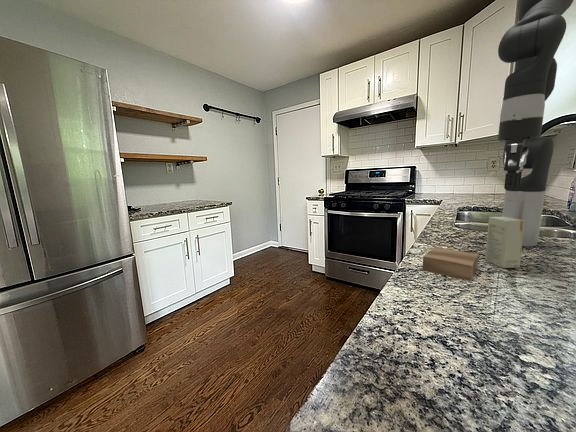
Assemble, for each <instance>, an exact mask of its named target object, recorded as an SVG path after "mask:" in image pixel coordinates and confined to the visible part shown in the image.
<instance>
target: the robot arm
mask: <svg viewBox="0 0 576 432" xmlns="http://www.w3.org/2000/svg"><path fill="white" fill-rule="evenodd" d="M573 2H574V0H519V4H518V5H519V6H518V16H517V17H518V20H517V23H515V24H514V25H512V26H511V27H509V28H508V29H507V31H506V32H505V33H504V34H503V36H502V38H501V39H500V42H499V45H498V49H497V54H498V57H499V60H500V61H502V62H503V63H506V64H512V63H514V70H513V72H512V73H510V74H509V75H508V76H507V77H506V78H505V82H504V88H503V89H504V90H503V98H502V99H503V101H502V105H501V109H500V113H499V114H500V115H499V126H498V136H497V140H498V141H499V142H504V147H503V153H502V163H503V170H504V171H503V172H504V173H505V177H504V178H505V179H504V186H503V187H504V190H505V191H504V200H503V206H502V207H503V209H502V215H501V217H508V218H514V219H519V220H525V223H524V233H523V242H522V247H536V246H538V241H539V236H540V229H541V222H542V216H543V208H544V202H545V194H546V187H547V182H548V178H549V171H550V167H551V163H552V158H553V154H554V146H555V145H554V140H553V139H552V138H551V137H548V136H542V128H543V121H544V114H545V106H546V101H547V100H548V98H549V97H550V96H551V95H552V93H553V91H554V88H555V86H556V85H555V83H556V78H557V73H558V72H557V71H558V62H557V60H556V58H555V55H556V53H557V51H558V49H559V46H560V45H561V43H562V41H563V39H564V36H565V34H566V31H567V22H566V18H565V17H564V16H562V15H564V13H565V12H566V11H567V10H569V8H570V7H571V5H572V4H573ZM526 169H527V170H531V169H532V170H531V172H530V173H529V174H527V175H526V176H523V177H522V173H523V171H524V170H526Z"/></svg>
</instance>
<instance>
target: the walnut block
mask: <svg viewBox="0 0 576 432" xmlns="http://www.w3.org/2000/svg"><path fill="white" fill-rule="evenodd" d="M479 256H480V254H479V253H473V252H469V251H468V252H467V251H462V250H455V249H450V248H449V249H448V248H443V247H436V246H434V247H433V248H431V249H430V250H429V251H428V252H427V253H425V254H424V255H423V256H422V271H425V272H428V273H429V272H430V273H434V274H438V275H442V276H448V277H451V278H454V279H455V278H456V279H460V280H464V281H468V282H471V280H472V279H473V277H474V275H475V273H476V271H477V270H478V268H479V267H478V265H479Z"/></svg>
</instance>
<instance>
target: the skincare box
mask: <svg viewBox="0 0 576 432" xmlns="http://www.w3.org/2000/svg"><path fill="white" fill-rule="evenodd" d="M524 223H525V220H519V219H514V218H508V217H502V216H488V223H487V225H488V227H487V235H486V246H485V257H484V261H486V262H488V263H490V264H493V265H495V266H498V267H500V268H503V269H505V268H506V269H511V268H514V269H515V268H520V267H521V258H522V250H523V246H522V242H523V233H524Z"/></svg>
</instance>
